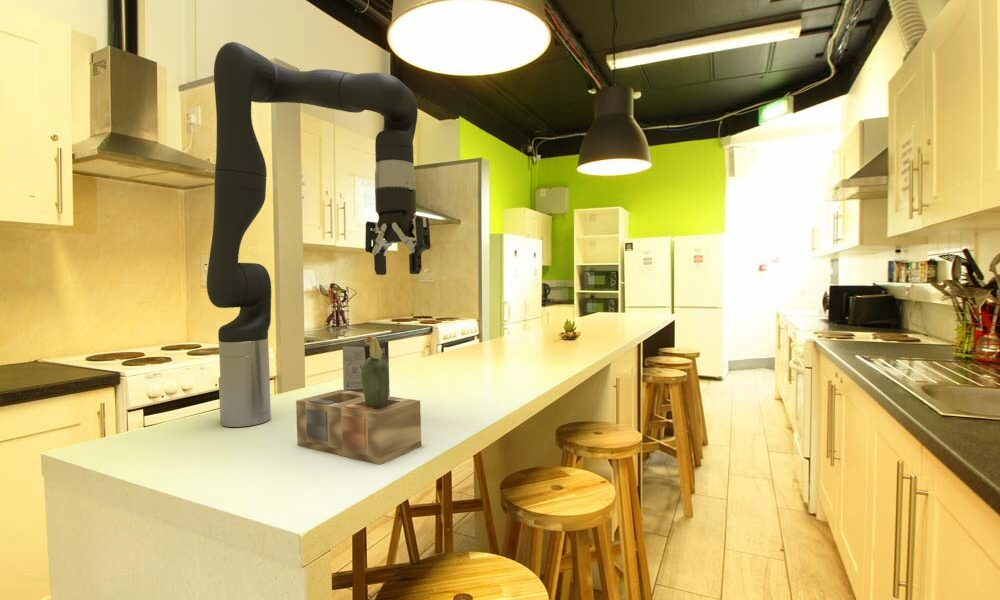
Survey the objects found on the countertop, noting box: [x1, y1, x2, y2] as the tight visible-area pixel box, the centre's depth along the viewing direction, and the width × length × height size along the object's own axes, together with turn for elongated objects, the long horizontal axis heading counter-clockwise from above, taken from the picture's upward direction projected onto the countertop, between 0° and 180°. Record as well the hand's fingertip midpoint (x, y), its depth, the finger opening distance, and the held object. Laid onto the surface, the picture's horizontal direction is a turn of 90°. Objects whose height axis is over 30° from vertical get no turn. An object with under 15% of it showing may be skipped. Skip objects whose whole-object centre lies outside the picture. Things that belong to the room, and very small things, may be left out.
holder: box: [295, 389, 422, 465], centre depth 88 cm, size 20×10×8 cm, turn 59°
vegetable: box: [361, 335, 390, 409], centre depth 83 cm, size 4×4×20 cm
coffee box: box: [342, 340, 391, 396], centre depth 105 cm, size 9×6×16 cm
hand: (397, 274), depth 96 cm, fingers open, 8 cm apart
